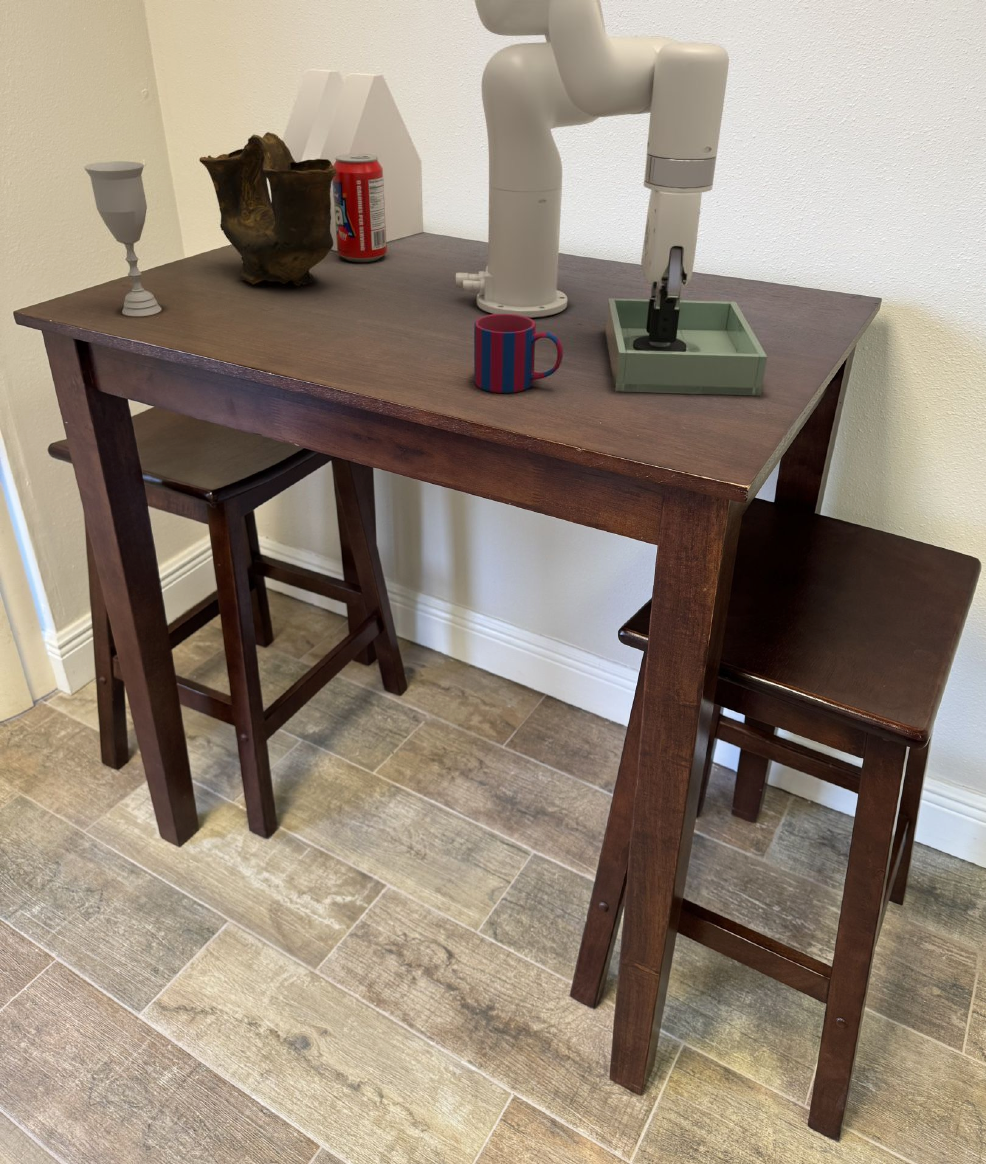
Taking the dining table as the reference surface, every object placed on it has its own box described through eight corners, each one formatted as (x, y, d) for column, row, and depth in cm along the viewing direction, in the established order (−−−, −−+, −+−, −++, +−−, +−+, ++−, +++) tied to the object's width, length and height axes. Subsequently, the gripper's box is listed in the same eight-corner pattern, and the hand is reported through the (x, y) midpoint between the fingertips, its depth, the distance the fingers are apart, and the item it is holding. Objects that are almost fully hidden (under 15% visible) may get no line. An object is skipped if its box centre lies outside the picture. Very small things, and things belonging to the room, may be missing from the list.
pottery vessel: (362, 291, 135) (353, 140, 124) (300, 306, 129) (284, 148, 118) (263, 257, 150) (247, 120, 139) (202, 270, 143) (181, 126, 132)
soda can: (384, 264, 147) (379, 161, 139) (334, 263, 147) (326, 160, 139) (389, 252, 154) (385, 152, 146) (341, 251, 154) (334, 151, 146)
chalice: (180, 307, 127) (156, 164, 118) (145, 321, 122) (116, 172, 112) (138, 299, 130) (111, 159, 120) (102, 313, 125) (70, 167, 115)
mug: (491, 367, 110) (492, 309, 106) (569, 383, 106) (573, 324, 102) (463, 386, 105) (463, 326, 101) (544, 403, 101) (547, 341, 97)
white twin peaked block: (359, 219, 173) (350, 65, 160) (423, 231, 166) (419, 71, 152) (281, 238, 160) (264, 72, 147) (346, 253, 153) (334, 79, 139)
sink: (615, 391, 104) (618, 352, 102) (605, 333, 121) (608, 298, 118) (760, 395, 104) (767, 356, 101) (730, 336, 120) (735, 301, 118)
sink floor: (615, 391, 104) (616, 382, 104) (605, 333, 121) (606, 325, 120) (760, 395, 104) (761, 387, 103) (730, 336, 120) (731, 328, 120)
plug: (634, 363, 111) (639, 310, 108) (630, 345, 117) (635, 294, 113) (688, 365, 111) (695, 312, 108) (681, 346, 117) (688, 296, 113)
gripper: (638, 159, 110) (624, 315, 120) (652, 185, 96) (634, 359, 106) (703, 160, 109) (683, 317, 119) (725, 187, 96) (701, 361, 106)
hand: (660, 335), depth 113 cm, fingers closed on plug, 2 cm apart
